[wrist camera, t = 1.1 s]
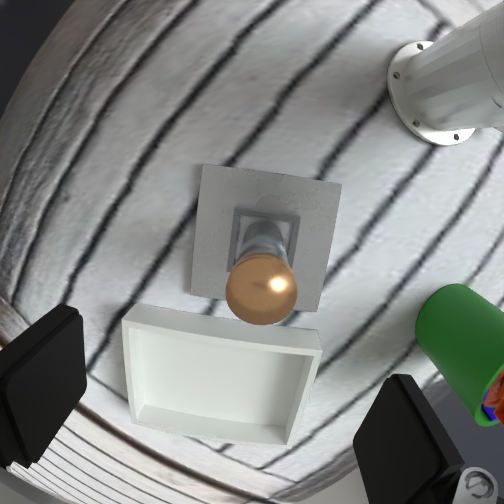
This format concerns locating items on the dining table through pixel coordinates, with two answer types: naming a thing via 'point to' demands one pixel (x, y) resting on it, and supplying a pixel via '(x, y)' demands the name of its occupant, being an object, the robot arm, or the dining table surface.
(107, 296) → the dining table surface
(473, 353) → the motor
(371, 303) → the dining table surface
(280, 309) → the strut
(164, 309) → the bin
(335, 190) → the socket plate
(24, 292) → the dining table surface
